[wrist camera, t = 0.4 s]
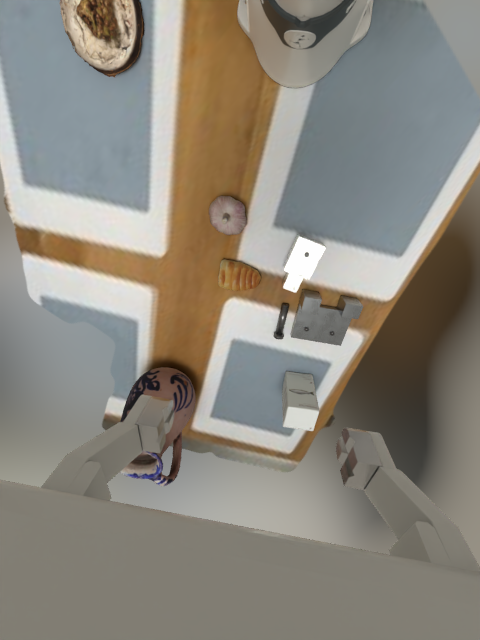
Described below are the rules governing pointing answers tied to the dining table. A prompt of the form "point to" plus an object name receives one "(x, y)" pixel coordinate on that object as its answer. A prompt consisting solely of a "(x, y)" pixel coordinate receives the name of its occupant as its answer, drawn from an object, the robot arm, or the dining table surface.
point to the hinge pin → (281, 321)
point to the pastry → (237, 276)
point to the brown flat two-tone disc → (104, 32)
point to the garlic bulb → (227, 215)
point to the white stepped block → (301, 261)
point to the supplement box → (299, 401)
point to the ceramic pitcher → (183, 396)
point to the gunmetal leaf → (324, 318)
